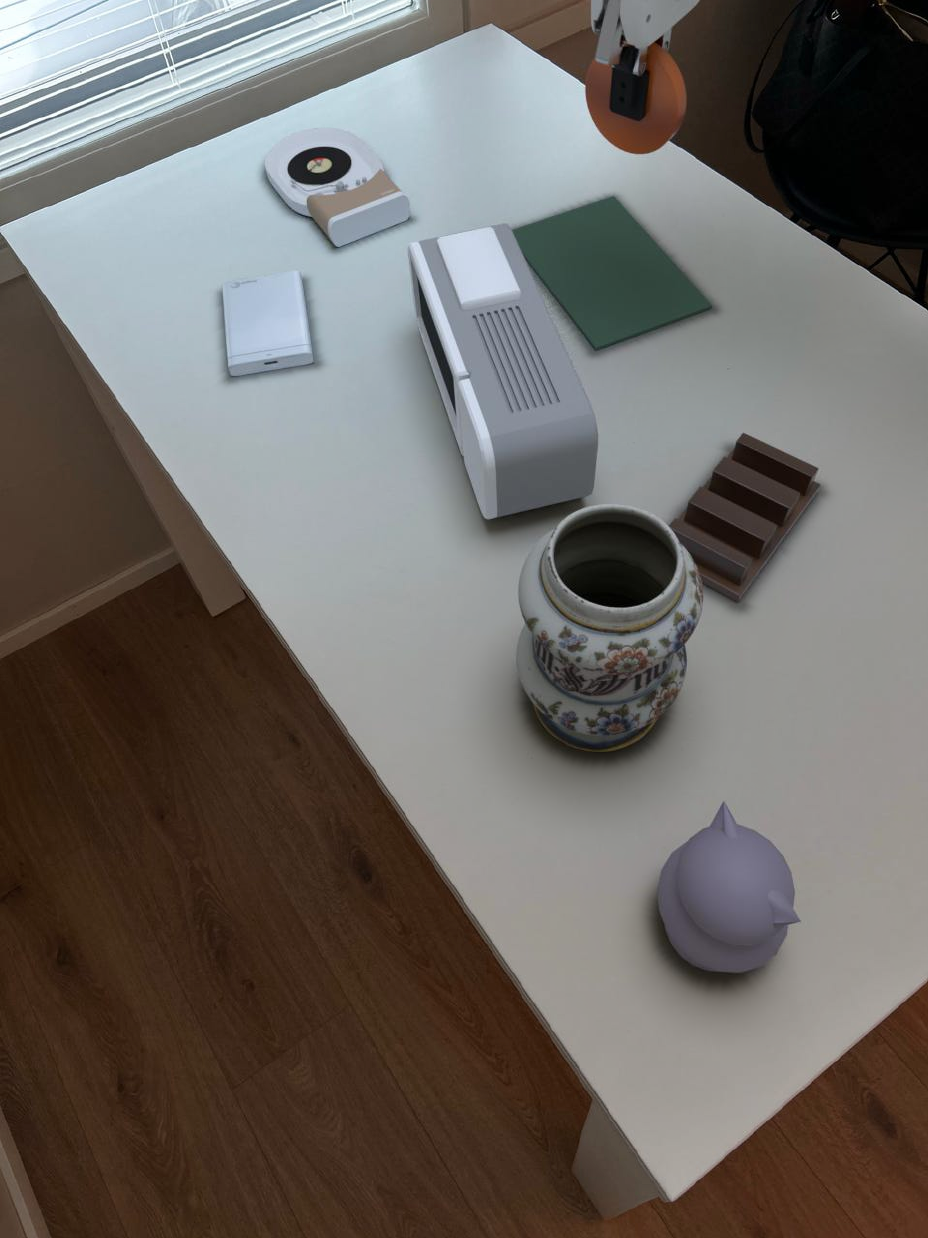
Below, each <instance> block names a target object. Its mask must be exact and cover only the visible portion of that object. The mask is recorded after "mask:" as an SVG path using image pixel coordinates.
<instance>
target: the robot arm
mask: <svg viewBox="0 0 928 1238" xmlns="http://www.w3.org/2000/svg"><path fill="white" fill-rule="evenodd" d="M700 1H701V0H590V25H591V29H592V32H593V34H594V35H596V36H599V38H598V42H597V46H596V51H595V56H594V58H595V60H596V61H597V62H600V63H603V64H606V65H609V66H610V67H612V78H611V90H610V103H609V109H610V111H611V112H613V113H616V114H619V115H621V116H624V117H627V118H630V119H633V120H635V121H641V120H642V119H643V118H644V117H645V111H646V102H647V93H648V84H649V76H650V71H647V70H645V68H646V61H647V50H648V46H649V45H651V44H652V43H653V42H655V43H657V44H658V45H659V46H661V47H662V48H663V49H664V50H665V51H666V52H667V53H668V50H669V48H670V43H671V38H672V30H673V27H674V26H675V25H676V24H677V23H678V22H680V21H681V20H682V19H683V18H684V17H685V16H686V15H688V13H690V11H692V10H693V9H694V8H695V7H696V6H697V5H698V3H700ZM624 41H627V43H628V44H631V45H634V46H635V49H634V50H633V49H632V48H631V47H629V46H625V45H623V44H624Z"/></svg>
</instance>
